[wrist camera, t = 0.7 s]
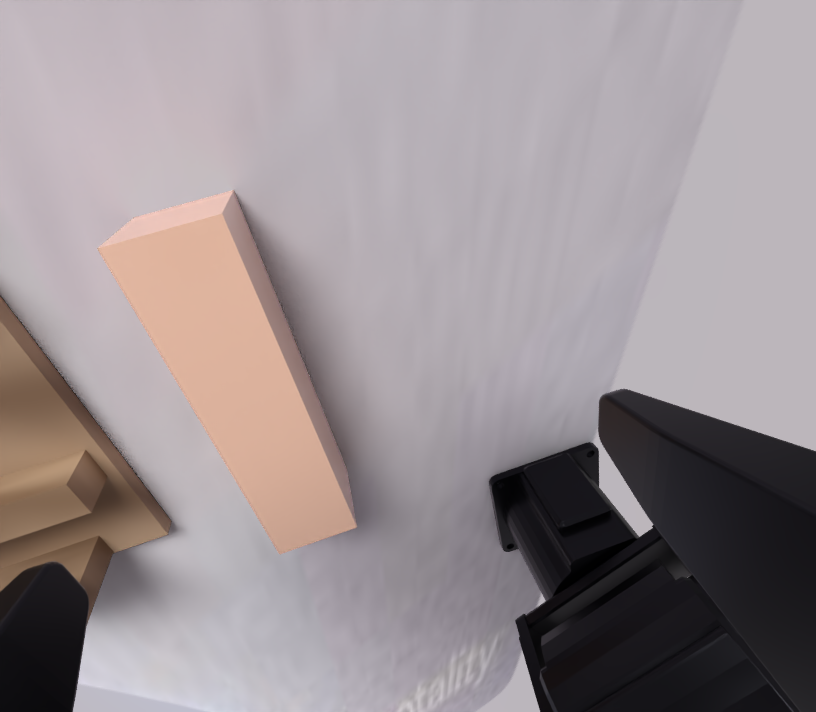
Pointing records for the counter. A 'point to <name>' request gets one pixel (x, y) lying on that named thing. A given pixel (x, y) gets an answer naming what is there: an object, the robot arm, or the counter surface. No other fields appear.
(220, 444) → the long rectangular block
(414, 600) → the counter surface
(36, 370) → the rack
